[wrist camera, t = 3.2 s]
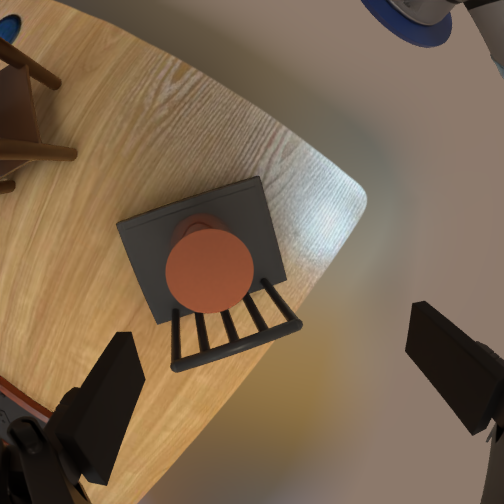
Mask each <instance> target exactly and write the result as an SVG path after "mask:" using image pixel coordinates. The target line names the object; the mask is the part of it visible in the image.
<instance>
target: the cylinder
mask: <svg viewBox="0 0 504 504" xmlns="http://www.w3.org/2000/svg"><path fill="white" fill-rule="evenodd" d="M253 274H254V266H253V260H252V257H251V254H250V252H249V250H248V248H247V247H246V246H245V244H244V243H243V242H242V241H241V240H240V238H239V237H238V236H237V235H236V234H235V232H234V231H233V230H232V229H231V228H230V227H229V225H228V224H227V223H226V222H225V221H224V220H222V219H221V218H219V217H217V216H215V215H212V214H208V213H197V214H193V215H190V216H188V217H186V218H184V219H183V220H181V221H180V222H179V223H178V224H177V225H176V227H175V228H174V230H173V231H172V234H171V236H170V240H169V247H168V254H167V262H166V281H167V285H168V287H169V290H170V292H171V293H172V295H173V296H174V297H175V299H176V300H177V301H178V302H179V303H181V304H182V305H183V306H185V307H186V308H188V309H190V310H193V311H196V312H200V313H217V312H221V311H224V310H227V309H229V308H231V307H233V306H234V305H236V304H237V303H238V302H239V301H240V300H241V299H242V298H243V297H244V296H245V295H246V293H247V292H248V290H249V288H250V286H251V283H252V280H253Z"/></svg>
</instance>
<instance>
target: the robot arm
mask: <svg viewBox="0 0 504 504" xmlns="http://www.w3.org/2000/svg"><path fill="white" fill-rule="evenodd" d="M386 2H387V3H388V4H389V5H390V6H391V7H392V8H393V9H394V10H395V11H396V12H397V13H399V14H400V15H401V16H403V17H404V18H405V19H407V20H409V21H410V22H412V23H414V24H417V25H420V26H431V25H434V24H436V23H438V22H440V21H441V20H442V19H443V18H444V17H445V16H446V15H447V14H448V13H449V12H450V11H451V9H452V8H453V7H454V6H455V5H456V4H459V3H462V2H463V3H464V5H465V7H466V8H467V10H468V12H469V13H470V15H471V17H472V18H473V20H474V22H475V24H476V26H477V27H478V29H479V31H480V33H481V35H482V37H483V38H484V41H485V43H486V45H487V46H488V49H489V51H490V53H491V58H492V60H493V61H494V62H495V64H496V66H497V68H498V70H499V72H500V74H501V76H502V78H503V79H504V0H386ZM405 352H406V353H407V354H408V355H409V357H410V358H411V359H412V360H413V361H414V362H415V364H416V365H417V366H418V367H419V369H420V370H421V371H422V372H423V373H424V375H425V376H426V377H427V378H428V380H429V381H430V382H431V383H432V385H433V386H434V387H435V388H436V389H437V391H438V392H439V393H440V394H441V396H442V397H443V398H444V400H445V401H446V402H447V403H448V405H449V406H450V407H451V408H452V410H453V411H454V412H455V414H456V415H457V416H458V418H459V419H460V420H461V422H462V423H463V424H464V426H465V427H466V428H467V430H468V431H469V432H470V433H471V435H472V436H473V435H475V434H477V433H479V432H481V431H483V430H485V429H486V428H487V426H488V424H489V422H490V420H491V418H493V419H494V421H495V422H496V423H495V425H494V427H493V429H492V430H491V432H490V434H489V436H488V438H487V440H486V442H488V441H489V440H490V438H491V437H492V441H491V450H490V457H489V463H488V469H487V475H486V480H485V485H484V491H483V495H482V499H481V503H480V504H504V360H503V359H502V358H499V356H498V355H497V354H496V353H494V351H493V350H492V349H490V348H489V347H488V346H487V345H485V344H482V343H480V342H478V341H476V342H475V341H474V340H472V339H471V338H470V337H469V336H467V335H466V334H465V333H464V332H463V331H462V330H460V329H459V328H458V327H457V326H455V325H454V324H453V323H452V322H451V321H450V320H448V319H447V318H446V317H444V316H443V315H442V314H441V313H440V312H438V311H437V310H436V309H435V308H433V307H432V306H431V305H430V304H428V303H427V302H426V301H421V302H416V303H412V310H411V317H410V323H409V330H408V337H407V343H406V348H405ZM145 380H146V379H145V376H144V373H143V370H142V367H141V363H140V360H139V357H138V353H137V350H136V346H135V343H134V339H133V336H132V332H116V334H115V335H114V337H113V338H112V340H111V341H110V343H109V344H108V346H107V347H106V349H105V350H104V352H103V353H102V355H101V356H100V358H99V359H98V361H97V362H96V364H95V365H94V367H93V368H92V370H91V371H90V373H89V375H88V376H87V378H86V379H85V381H84V382H83V384H82V386H81V387H80V388H78V387H73V388H72V389H71V390H70V391H68V392H67V393H66V394H65V395H64V397H63V398H62V400H61V401H60V404H58V406H57V407H56V409H55V411H54V412H53V414H52V415H51V417H50V418H49V420H48V422H47V423H46V425H45V426H44V428H43V429H42V428H41V426H40V425H39V423H38V421H37V420H36V419H35V418H33V417H31V416H23V417H19V418H17V419H15V420H14V421H13V422H11V423H10V425H9V426H8V428H7V435H8V437H9V438H10V440H11V441H12V443H13V444H14V445H5V443H4V442H3V441H2V439H1V438H0V504H92V503H91V501H90V499H89V498H88V496H87V494H86V492H85V490H84V488H83V486H82V484H81V483H80V482H79V479H80V476H81V474H83V475H84V477H85V478H86V479H87V481H88V482H91V483H95V484H100V485H105V486H107V484H108V481H109V478H110V475H111V472H112V469H113V466H114V463H115V461H116V458H117V455H118V452H119V449H120V446H121V444H122V441H123V438H124V435H125V432H126V430H127V427H128V424H129V422H130V419H131V416H132V413H133V411H134V408H135V405H136V403H137V400H138V398H139V395H140V392H141V390H142V387H143V385H144V382H145Z"/></svg>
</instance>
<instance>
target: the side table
mask: <svg viewBox="0 0 504 504" xmlns="http://www.w3.org/2000/svg"><path fill="white" fill-rule="evenodd" d="M0 60H2V61H4V62H6V63H7V64H9V65H8V66H7V67H5V68H4V69H2V70H1V71H0V179H1V178H3V177H5V176H6V175H8V174H10V173H11V172H13V171H15V170H17V169H18V168H20V167H22V166H24V165H25V164H27V163H29V162H31V161H33V160H53V161H74V160H75V159H76V158H77V150H76V149H74V148H69V147H63V146H56V145H50V144H43V143H42V141H41V137H40V133H39V128H38V123H37V118H36V113H35V108H34V102H33V96H32V89H31V83H30V77H32V78H34V79H35V80H37V81H39V82H40V83H42V84H44V85H46V86H47V87H49V88H51V89H52V90H57V89H58V88H59V87H60V86H61V80H60V79H59V78H58V77H56V76H55V75H54V74H52V73H51V72H49V71H48V70H47V69H45V68H44V67H42V66H41V65H40V64H38V63H37V62H35V61H34V60H32V59H31V58H30V57H28V56H27V55H25V54H24V53H23V52H21V51H20V50H18V49H17V48H15V47H14V46H13V45H11V44H10V43H8V42H7V41H5V40H4V39H2V38H1V37H0ZM14 189H15V182H14V181H13V180H5V181H0V194H4V193H9V192H12V191H14Z"/></svg>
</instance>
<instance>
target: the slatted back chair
mask: <svg viewBox="0 0 504 504" xmlns="http://www.w3.org/2000/svg"><path fill="white" fill-rule="evenodd" d="M197 213H208V214H212V215H215V216H217V217H219V218H221V219H222V220H224V221H225V222H226V223H227V224H228V225H229V227H230V228H231V229H232V230H233V231H234V232H235V234H236V235H237V236H238V237H239V238H240V240H241V241H242V242H243V243H244V244H245V246H246V247H247V248H248V250H249V252H250V254H251V257H252V260H253V266H254V274H253V280H252V283H251V286H250V288H249V290H248V292H247V293H246V295H245V296H244V297H243V298H242V299H243V301H244V303H245V305H246V307H247V309H248V311H249V313H250V315H251V317H252V319H253V321H254V323H255V325H256V327H257V329H258V331H259V332H258V333H255V334H253V335H250V336H247V337H244V338H241V339H239V337H238V334H237V331H236V329H235V326H234V323H233V321H232V318H231V315H230V312H229V310H228V309H227V310H224V311H221V312H220V313H221V316H222V320H223V323H224V326H225V329H226V333H227V336H228V339H229V342H230V343H227V344H224V345H221V346H218V347H215V348H212V349H210V346H209V341H208V336H207V331H206V326H205V321H204V315H203V313H200V312H196V311H193V310H190V309H188V308H186V307H185V306H183V305H182V304H181V303H179V302H178V301H177V300H176V299H175V297H174V296H173V295H172V293H171V292H170V290H169V287H168V285H167V281H166V262H167V254H168V247H169V240H170V236H171V234H172V231H173V230H174V228H175V227H176V225H177V224H178V223H179V222H180V221H181V220H183V219H184V218H186V217H188V216H190V215H193V214H197ZM116 226H117V228H118V231H119V234H120V237H121V239H122V242H123V245H124V247H125V250H126V252H127V255H128V258H129V260H130V263H131V265H132V268H133V270H134V273H135V275H136V277H137V280H138V282H139V285H140V287H141V289H142V292H143V294H144V296H145V299H146V301H147V303H148V305H149V308H150V310H151V312H152V314H153V316H154V319H155V321H156V323H157V325H158V324H161V323H164V322H168V321H171V320H172V326H171V365H170V368H171V370H172V371H173V372H176V373H178V372H181V371H185V370H188V369H191V368H194V367H198V366H201V365H204V364H207V363H210V362H213V361H216V360H219V359H222V358H225V357H228V356H231V355H234V354H237V353H240V352H243V351H246V350H248V349H251V348H254V347H257V346H259V345H262V344H265V343H268V342H270V341H273V340H276V339H278V338H281V337H283V336H286V335H289V334H291V333H294V332H296V331H299V330H300V329H301V328H302V326H303V323H302V321H301V320H300V319H298V317H297V316H296V315H295V314H294V312H293V311H292V310H291V309H290V307H289V306H288V305H287V304H286V302H285V301H284V300H283V299H282V297H281V296H280V295H279V293H278V292H277V291H276V290H275V288H274V287H273V286H272V285H275V284H278V283H281V282H283V281H286V280H287V278H286V274H285V270H284V266H283V262H282V259H281V255H280V251H279V247H278V243H277V239H276V236H275V232H274V228H273V224H272V220H271V217H270V213H269V209H268V205H267V202H266V198H265V194H264V191H263V187H262V183H261V180H260V176H255V177H252V178H248V179H245V180H242V181H238V182H235V183H232V184H228V185H225V186H222V187H219V188H215V189H212V190H209V191H206V192H203V193H200V194H197V195H194V196H191V197H188V198H185V199H182V200H179V201H176V202H173V203H170V204H167V205H164V206H161V207H158V208H156V209H153V210H150V211H147V212H144V213H142V214H139V215H136V216H133V217H131V218H128V219H125V220H123V221H120V222H118V223H117V224H116ZM261 289H265V290H266V292H267V293H268V294H269V296H270V297H271V299H272V300H273V302H274V303H275V304H276V306H277V307H278V309H279V310H280V311H281V313H282V314H283V316H284V317H285V318H286V320H287V321H288V322H285V323H282V324H280V325H277V326H274V327H272V328H268V326H267V325H266V323H265V321H264V319H263V318H262V316H261V314H260V312H259V310H258V309H257V307H256V305H255V303H254V302H253V300H252V298H251V296H250V295H249V294H250V293H253V292H256V291H259V290H261ZM192 313H195V319H196V327H197V334H198V341H199V348H200V353H197V354H194V355H190V356H187V357H184V358H181V339H180V317H183V316H186V315H189V314H192Z"/></svg>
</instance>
